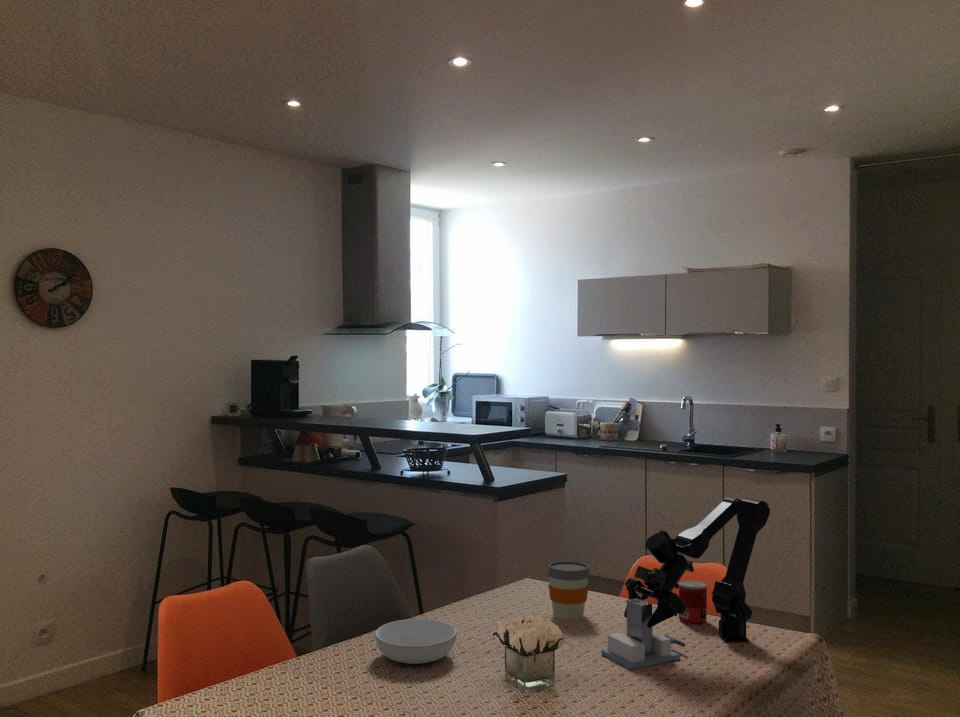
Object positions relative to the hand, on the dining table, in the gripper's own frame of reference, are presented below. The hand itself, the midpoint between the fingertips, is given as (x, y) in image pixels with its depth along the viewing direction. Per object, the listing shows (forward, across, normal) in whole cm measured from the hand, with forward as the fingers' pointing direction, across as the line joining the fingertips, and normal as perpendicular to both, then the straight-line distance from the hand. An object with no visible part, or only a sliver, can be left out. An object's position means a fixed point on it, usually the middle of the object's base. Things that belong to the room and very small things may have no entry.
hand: (636, 621), depth 213 cm
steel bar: (+5, 0, +6) cm, 8 cm away
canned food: (-18, -17, +31) cm, 40 cm away
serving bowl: (+42, -26, -29) cm, 58 cm away
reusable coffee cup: (+3, -38, +10) cm, 39 cm away
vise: (+4, 0, +9) cm, 10 cm away
